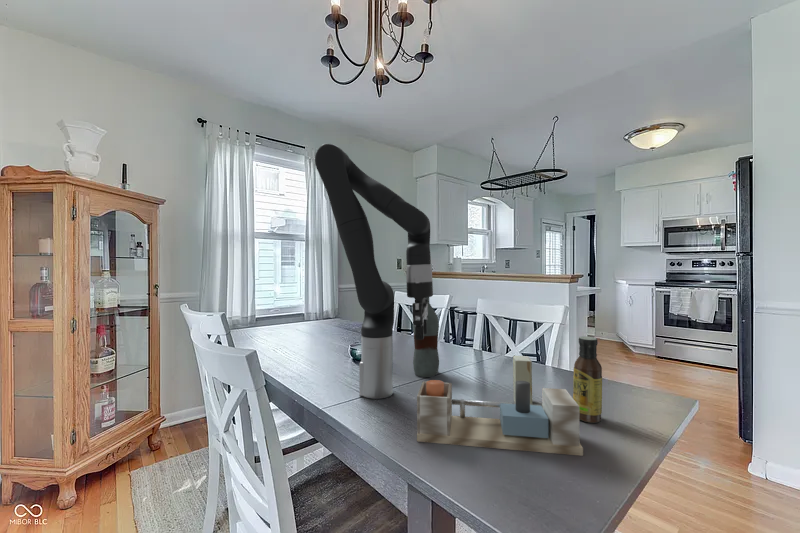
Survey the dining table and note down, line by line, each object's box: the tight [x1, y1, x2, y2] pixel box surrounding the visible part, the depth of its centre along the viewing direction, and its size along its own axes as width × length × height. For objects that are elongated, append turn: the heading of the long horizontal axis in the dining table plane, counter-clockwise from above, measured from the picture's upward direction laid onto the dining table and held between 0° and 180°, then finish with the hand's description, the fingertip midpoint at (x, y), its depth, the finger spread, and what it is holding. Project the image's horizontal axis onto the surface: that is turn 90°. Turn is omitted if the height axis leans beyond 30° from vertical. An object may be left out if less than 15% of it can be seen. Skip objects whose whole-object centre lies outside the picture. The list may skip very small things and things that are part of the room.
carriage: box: [499, 381, 548, 438], centre depth 77 cm, size 9×7×10 cm
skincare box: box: [512, 355, 533, 404], centre depth 97 cm, size 6×4×12 cm
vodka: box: [412, 297, 440, 378], centre depth 124 cm, size 9×9×30 cm
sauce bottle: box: [572, 335, 603, 424], centre depth 87 cm, size 6×6×20 cm
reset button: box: [425, 379, 445, 397], centre depth 81 cm, size 4×4×4 cm
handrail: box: [452, 398, 543, 418], centre depth 83 cm, size 20×1×4 cm, turn 79°
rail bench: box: [416, 381, 584, 457], centre depth 79 cm, size 33×11×10 cm, turn 79°
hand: (421, 336), depth 103 cm, fingers open, 8 cm apart
